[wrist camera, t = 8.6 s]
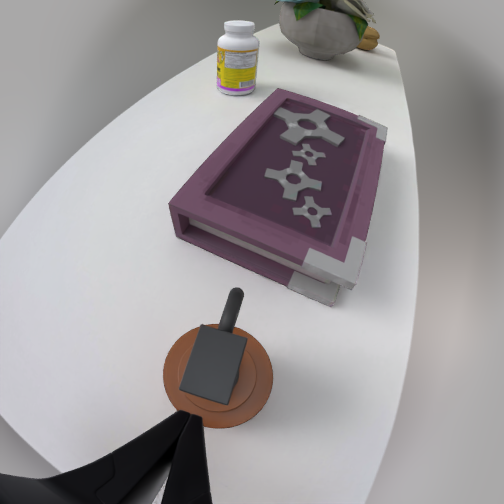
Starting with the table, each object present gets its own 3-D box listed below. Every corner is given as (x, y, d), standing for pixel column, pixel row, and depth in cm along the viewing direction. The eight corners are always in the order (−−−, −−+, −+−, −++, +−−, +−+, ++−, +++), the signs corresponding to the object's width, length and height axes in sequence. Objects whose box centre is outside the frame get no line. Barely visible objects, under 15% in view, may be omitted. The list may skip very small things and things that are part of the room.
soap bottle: (249, 432, 18) (259, 443, 12) (169, 407, 19) (141, 406, 13) (270, 357, 22) (288, 333, 15) (194, 335, 22) (180, 302, 16)
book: (334, 308, 24) (356, 284, 20) (175, 237, 27) (167, 203, 23) (375, 153, 37) (387, 127, 33) (273, 115, 40) (278, 87, 35)
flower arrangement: (361, 83, 52) (388, -9, 31) (254, 56, 54) (264, -36, 34) (361, 57, 64) (380, -10, 44) (280, 36, 67) (290, -32, 46)
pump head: (227, 406, 12) (227, 405, 11) (184, 392, 12) (178, 389, 11) (257, 304, 15) (261, 291, 14) (218, 293, 15) (217, 278, 14)
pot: (346, 47, 69) (352, 21, 60) (339, 38, 75) (344, 15, 67) (379, 56, 69) (386, 32, 61) (369, 46, 76) (376, 24, 67)
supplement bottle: (222, 79, 46) (224, 18, 35) (258, 84, 46) (264, 21, 35) (211, 94, 42) (212, 25, 31) (250, 99, 42) (257, 28, 31)
